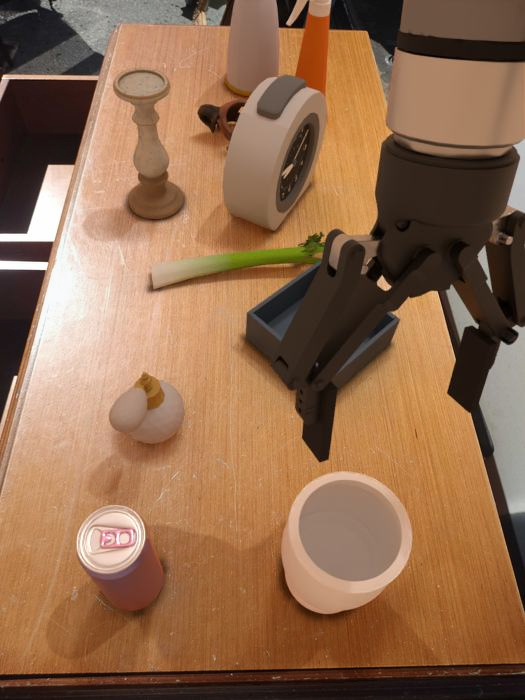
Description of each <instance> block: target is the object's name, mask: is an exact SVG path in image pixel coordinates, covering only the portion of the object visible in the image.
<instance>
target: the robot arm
mask: <svg viewBox="0 0 525 700" xmlns="http://www.w3.org/2000/svg"><path fill="white" fill-rule="evenodd" d="M402 1H403V2H402V9H401V10H402V11H401V19H400V26H399V28H398V29H397V30H398V32H397V38H396V43H395V44H396V45H395V46H396V47H395V48H394V54H393V55H394V56H393V62H392V63H393V64H392V69H391V78H390V84H389V91H388V99H387V107H386V113H385V120H384V122H385V126H386V127H387V129H388V130H389V131H390V132H392V133H391V134H389V135H388V136H387V137H386V138H385V139H384V140H382V142H381V146H380V151H379V152H380V153H379V160H378V165H377V166H378V167H377V173H376V174H377V175H376V181H375V189H374V198H375V204H376V211H377V215H376V220H375V223H374V225H373V227H372V228H371V230H370V232H369V234H356V235H355V234H353V235H348V234H347V233H346V232H344V231H343V230H342V229H340V228H334V229H331V230H330V231H329V232H328V233H327V235H326V237H325V239H326V240H325V239H324V243H325V244H323V245H324V250H323V252H322V255H321V259H322V260H321V265H320V267H319V269H318V271H317V273H316V275H315V277H314V279H313V281H312V283H311V285H310V286H309V288H308V290H307V292H306V294H305V296H304V298H303V300H302V302H301V304H300V306H299V308H298V309H297V311H296V313H295V315H294V317H293V319H292V321H291V323H290V325H289V327H288V329H287V331H286V332H285V334H284V336H283V338H282V340H281V342H280V344H279V346H278V348H277V350H276V352H275V354H274V355H273V357H272V359H271V360H270V361H269V365H270V368H271V369H272V370H273V372H274V373H275V374H276V375H277V377H278V378H279V380H280V381H281V382H282V384H283V385H284V386H285V387H286V388H287V389H288V390H289V391H295V403H294V409H295V412H296V414H297V415H298V416H299V417H300V418H301V420H302V431H301V439H302V441H303V442H304V444H305V445H306V446H307V448H308V449H309V451H310V452H311V454H313V456H314V457H315V459H316V461H318V463H323V462H326V461H329V460H330V454H331V444H332V436H333V429H334V422H335V413H336V406H337V397H338V391H339V390H338V388H337V387H336V386H335V385H334V384H333V383H332V381H331V380H332V379H333V377H334V376H335V375H336V374H337V373H338V371H339V370H340V369H341V368H342V367H343V365H344V364H345V363H346V362H347V361H348V359H349V358H350V357H351V356H352V355H353V353H354V352H355V351H356V350H357V349H358V347H359V346H360V345H361V344H362V343H363V341H364V340H365V339H366V338H367V337H368V335H369V334H370V333H371V332H372V331H373V329H374V328H375V327H376V326H377V325H378V323H379V322H380V321H381V320H382V319H383V317H384V316H385V315H386V314H387V313H388V312H391V313H392V312H396V311H398V310H399V309H400V308H401V307H402V306H403V304H404V303H405V302H406V301H407V299H408V298H410V299H413V298H418V297H419V298H420V297H422V296H424V295H426V294H428V293H430V292H445V291H450V289H451V287H453V289H454V290H455V292H456V293H457V295H458V297H459V298H460V300H461V302H462V303H463V305H464V307H465V308H466V309H467V311H468V313H469V314H470V316H471V317H472V319H473V321H474V323H475V324H477V325H478V328H477V327H475V326H474V325H472V324H471V325H468V326H464V327H463V332H462V335H461V339H460V343H459V346H458V350H457V353H456V356H455V362H454V366H453V369H452V372H451V376H450V381H449V383H448V387H447V391H446V394H447V396H449V397H450V398H451V399H452V400H453V401H455V402H456V404H458V405H459V406H460V407H461V408H463V409H464V410H465V411H466V412H467V413H469V414H471V413H473V412H477V411H478V407H479V404H480V402H481V397H482V395H483V391H484V388H485V385H486V383H487V380H488V376H489V372H490V370H491V369H492V368H493V366H494V365H495V361H496V359H497V356H498V353H499V349H500V347H501V344H502V343H503V344H505V345H506V346H511V345H513V344H514V343H515V342H516V341H517V340H518V338H519V336H520V333H519V331H517V330H515V329H514V327H516V326H518V327H519V328H524V327H525V212H523V211H521V210H518V209H517V208H514V207H513V206H510V205H508V204H509V200H510V197H511V192H512V190H513V186H514V182H515V178H516V175H517V171H518V168H519V164H520V161H521V156H520V155H521V154H519V153H518V149H517V148H516V147H515V146H516V145H518V144H520V143H521V142H523V141H524V140H525V0H402ZM483 248H484V249H485V255H486V262H487V267H488V274H489V276H488V275H487V273H486V272H485V270H484V268H483V266H482V264H481V262H480V261H479V254H480V252H481V251H482V250H483ZM381 277H383V279H384V281H385V282H386V283H387V285H389V286H390V288H389V289H387V290H385V289H383V288H381V286H379V285H378V282H379V279H381ZM488 277H489V278H488ZM488 279H489V280H490V286H489V284H488V283H487V281H488ZM490 287H491V288H490ZM317 362H318V366H316V363H317Z"/></svg>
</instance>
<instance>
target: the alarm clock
mask: <svg viewBox="0 0 525 700" xmlns="http://www.w3.org/2000/svg"><path fill="white" fill-rule="evenodd" d="M278 77H279V78H278ZM278 77H271V78H267V79H266V80H264V81H263V82H262V83H260V84H259V85H258V87H257V88H256V89H255V90H254V92H253V93H252V94H251V95H250V97H248V99H247V100H246V101H247V102H246V104H245V106H244V107H242V110H241V111H240V116H239V118H238V121H237V122H235V125H234V127H233V128H234V129H232V130H233V133H232V137H231V140H230V144H229V143H228V144H229V147H228V150H227V149H226V156H225V161H224V165H223V173H222V188H221V189H222V196H223V198H222V199H223V203H224V206H225V208H226V210H227V212H229V213H230V214H231V215H232V216H235V217H237V218H240V219H242V220H244V221H247V222H248V223H253V224H254V225H257V226H260V227H262V228H265V229H267V230H270V231H276V230H277V229H278V228H279V227H280V225H281V224H282V222H283V221H284V220H285V218H286V217H287V216H288V214H289V213H290V211H291V210H292V209H293V208H294V206H295V205H296V204H297V202H298V200H300V198H301V197H302V195H303V194H304V193H305V191H306V190H307V188H308V187H309V185H310V183H311V181H312V178H313V175H314V172H315V170H316V167H317V164H318V162H319V157H320V154H321V151H322V148H323V142H324V137H325V132H326V126H327V118H328V109H327V106H328V105H327V101H326V95H325V96H324V95H323V94H322V93H321V92H320V91H317V90H314V89H311V88H308V87H306V81H305V80H303V79H301V78H298V77H295V75H291V74H287V73H286V74H282V75H280V76H278Z"/></svg>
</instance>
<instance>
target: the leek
mask: <svg viewBox="0 0 525 700" xmlns="http://www.w3.org/2000/svg"><path fill="white" fill-rule="evenodd" d="M323 237H325V234H324V233H323V232H322V231H320V232H319V234H318V232H316V233H314V234H312V235H307V239H305V242H302V243H299V244H297V246H293V247H291V246H290V247H282V248H269V249H259V250H249V251H239V252H228V253H221V254H213V255H205V256H198V257H191V258H184V259H176V260H170V261H163V262H158V263H157V262H156V263H151V264H149V265H150V273H151V281H152V287H153V288H152V289H153V290H156V289H159V288H162V287H166V286H169V285H173V284H176V283H180V282H183V281H186V280H190V279H194V278H198V277H202V276H203V277H204V276H208V275H214V274H218V273H222V272H228V271H232V270H233V271H234V270H241V269H247V268H253V267H260V266H267V265H270V266H271V265H282V264H283V265H284V264H298V263H302V264H310V265H314V264H315V263H317V262H318V261H320V260H322V257H312V256H313V255H315V254H320V253H323V250H324V245H325V240H326V238H324V241H323V242H322V238H323Z"/></svg>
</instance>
